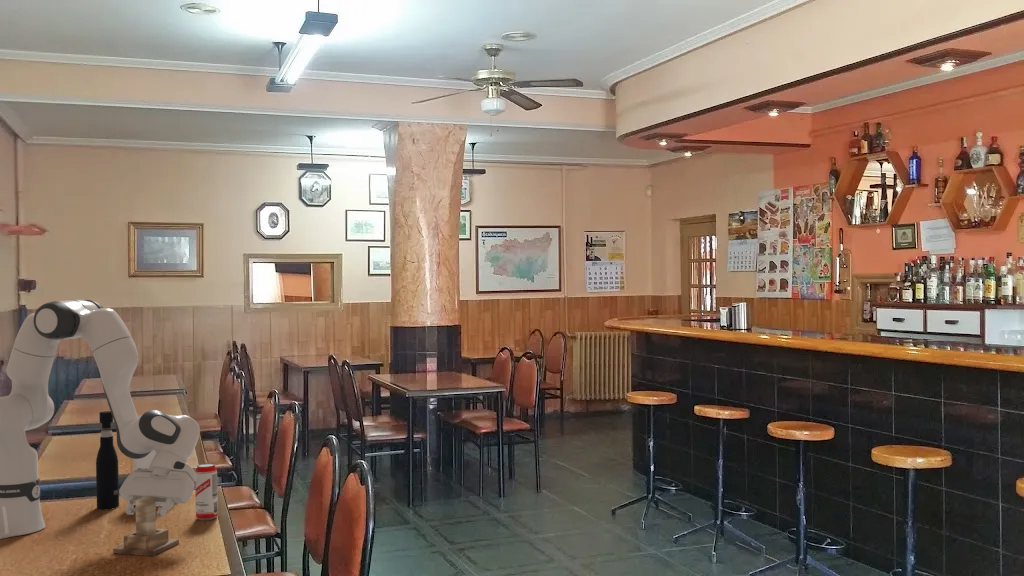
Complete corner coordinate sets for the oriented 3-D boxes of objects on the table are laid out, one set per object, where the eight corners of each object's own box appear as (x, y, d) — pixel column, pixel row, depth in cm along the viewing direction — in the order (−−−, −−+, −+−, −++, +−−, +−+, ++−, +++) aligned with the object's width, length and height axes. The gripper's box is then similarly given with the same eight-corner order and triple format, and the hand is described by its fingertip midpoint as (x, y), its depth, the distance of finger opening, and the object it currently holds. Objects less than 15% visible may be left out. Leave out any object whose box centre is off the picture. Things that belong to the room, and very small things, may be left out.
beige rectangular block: (136, 545, 240) (135, 500, 240) (144, 541, 243) (143, 497, 243) (147, 546, 239) (147, 500, 239) (156, 542, 242) (155, 497, 242)
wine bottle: (98, 505, 287) (96, 411, 287) (120, 503, 289) (118, 410, 289) (95, 510, 281) (93, 414, 281) (117, 508, 283) (116, 413, 283)
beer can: (211, 521, 267) (210, 467, 267) (191, 520, 268) (190, 466, 268) (222, 515, 273) (221, 463, 273) (203, 515, 274) (202, 462, 274)
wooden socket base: (113, 553, 237) (112, 537, 237) (140, 541, 248) (139, 525, 248) (153, 556, 234) (153, 540, 234) (178, 543, 245) (178, 528, 245)
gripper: (128, 461, 250) (104, 506, 241) (193, 464, 245) (172, 510, 236) (138, 474, 254) (116, 518, 245) (203, 477, 249) (182, 522, 240)
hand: (144, 514), depth 240 cm, fingers open, 8 cm apart
